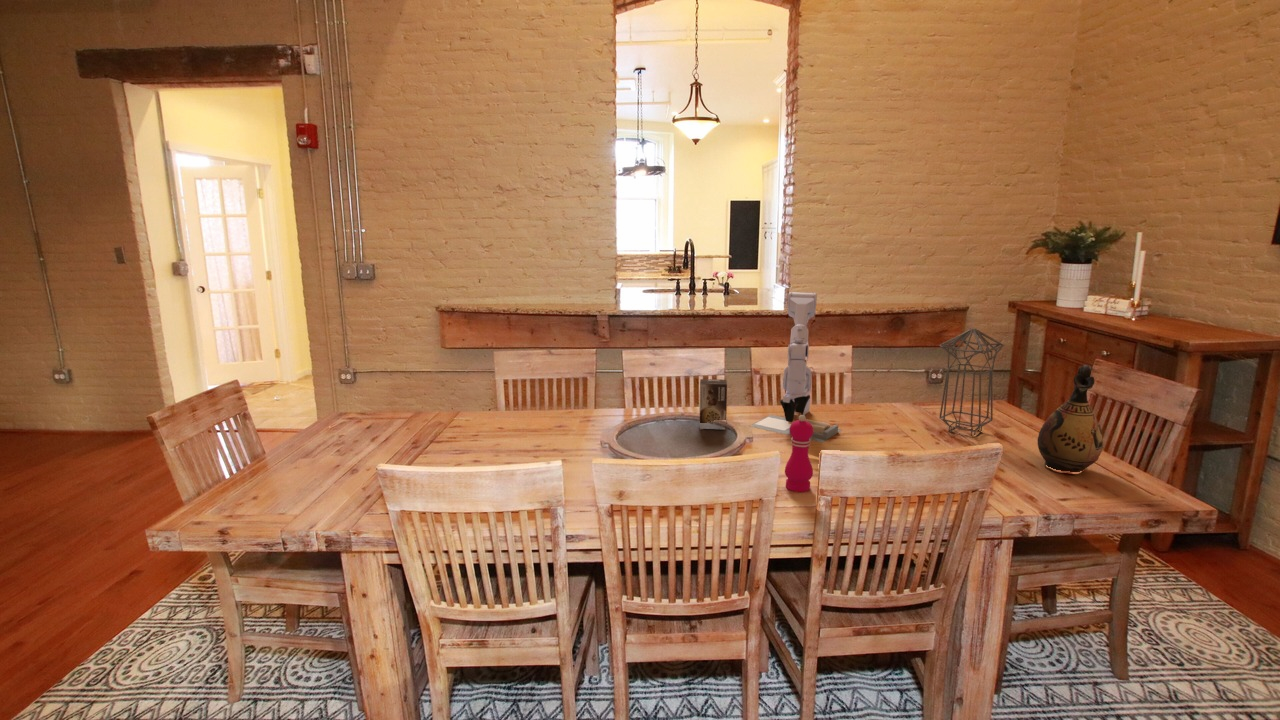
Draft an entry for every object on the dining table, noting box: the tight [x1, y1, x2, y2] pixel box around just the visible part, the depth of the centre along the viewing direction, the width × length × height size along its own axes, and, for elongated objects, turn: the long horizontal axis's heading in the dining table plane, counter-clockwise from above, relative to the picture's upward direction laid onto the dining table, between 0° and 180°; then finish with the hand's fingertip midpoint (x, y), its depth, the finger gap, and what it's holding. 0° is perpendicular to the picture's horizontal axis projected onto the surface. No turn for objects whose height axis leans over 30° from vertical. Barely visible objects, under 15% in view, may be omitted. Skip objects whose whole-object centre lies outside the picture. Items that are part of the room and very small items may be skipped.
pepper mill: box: [784, 415, 814, 493], centre depth 171 cm, size 7×7×20 cm
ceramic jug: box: [1037, 364, 1104, 472], centre depth 184 cm, size 17×15×30 cm
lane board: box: [749, 414, 842, 443], centre depth 218 cm, size 16×26×3 cm, turn 52°
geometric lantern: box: [939, 328, 1005, 436], centre depth 214 cm, size 16×16×35 cm
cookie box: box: [699, 378, 728, 423], centre depth 219 cm, size 9×6×16 cm
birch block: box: [788, 412, 831, 434], centre depth 215 cm, size 5×13×5 cm, turn 52°
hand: (794, 418), depth 218 cm, fingers open, 7 cm apart
